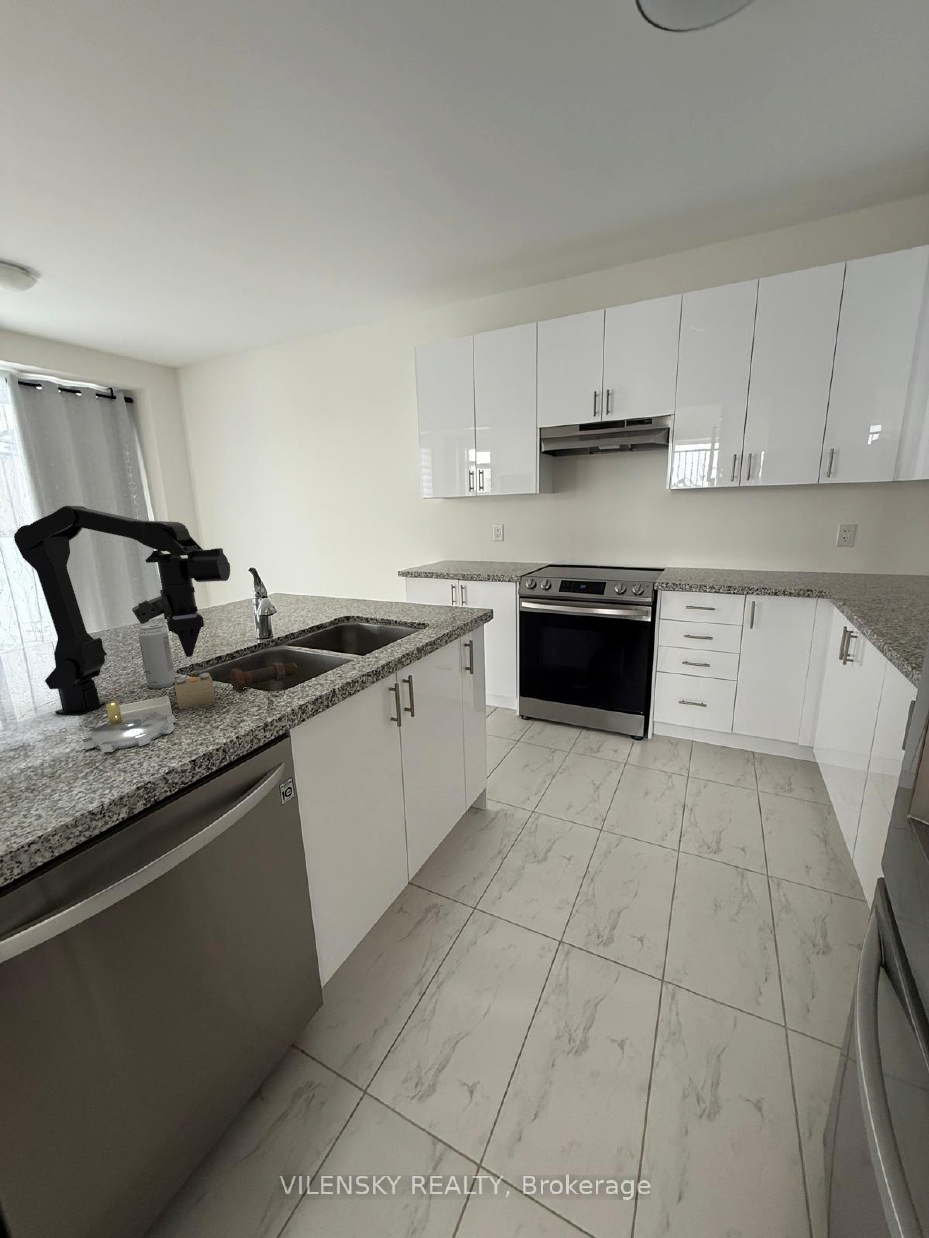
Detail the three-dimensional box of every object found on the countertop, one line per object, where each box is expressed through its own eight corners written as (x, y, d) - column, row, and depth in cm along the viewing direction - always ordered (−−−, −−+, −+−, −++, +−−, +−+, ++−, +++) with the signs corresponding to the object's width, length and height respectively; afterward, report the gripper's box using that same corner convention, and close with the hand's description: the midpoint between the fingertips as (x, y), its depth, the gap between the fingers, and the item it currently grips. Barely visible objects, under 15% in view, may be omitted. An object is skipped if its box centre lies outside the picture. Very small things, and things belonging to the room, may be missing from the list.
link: (179, 709, 106) (174, 681, 105) (178, 705, 109) (173, 677, 108) (215, 702, 110) (211, 674, 109) (213, 697, 113) (209, 671, 112)
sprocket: (114, 759, 84) (107, 727, 83) (66, 744, 91) (60, 714, 89) (192, 725, 97) (188, 697, 96) (146, 714, 103) (141, 688, 102)
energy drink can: (149, 684, 124) (138, 625, 121) (176, 679, 127) (166, 622, 124) (146, 691, 119) (135, 630, 116) (175, 686, 121) (165, 626, 118)
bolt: (298, 682, 127) (236, 697, 117) (289, 669, 129) (229, 682, 119) (301, 665, 124) (238, 679, 114) (293, 653, 126) (231, 664, 116)
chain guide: (114, 726, 99) (112, 715, 98) (114, 716, 104) (113, 706, 103) (172, 713, 104) (170, 703, 104) (170, 705, 109) (168, 695, 109)
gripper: (130, 583, 107) (143, 652, 111) (130, 592, 92) (145, 673, 95) (189, 577, 113) (199, 644, 116) (198, 585, 98) (210, 662, 101)
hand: (188, 655), depth 107 cm, fingers open, 3 cm apart
